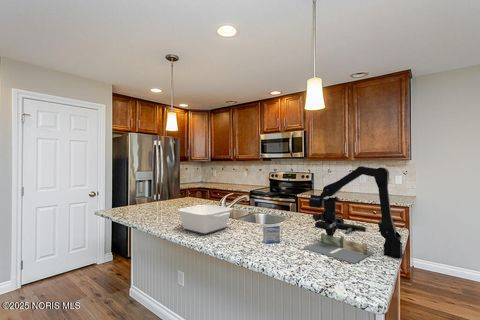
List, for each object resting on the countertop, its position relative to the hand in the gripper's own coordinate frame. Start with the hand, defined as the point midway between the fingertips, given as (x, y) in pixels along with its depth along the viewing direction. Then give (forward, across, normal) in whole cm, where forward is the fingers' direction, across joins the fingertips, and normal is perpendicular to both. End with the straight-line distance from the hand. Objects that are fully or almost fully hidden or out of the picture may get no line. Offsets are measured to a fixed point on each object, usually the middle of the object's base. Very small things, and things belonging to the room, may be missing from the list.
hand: (329, 239), depth 132 cm
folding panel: (+1, +3, +2) cm, 4 cm away
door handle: (+3, -31, -7) cm, 32 cm away
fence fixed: (+2, +3, +13) cm, 14 cm away
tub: (+2, +34, -64) cm, 73 cm away
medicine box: (+2, +21, -21) cm, 30 cm away
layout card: (+2, +7, +8) cm, 11 cm away
